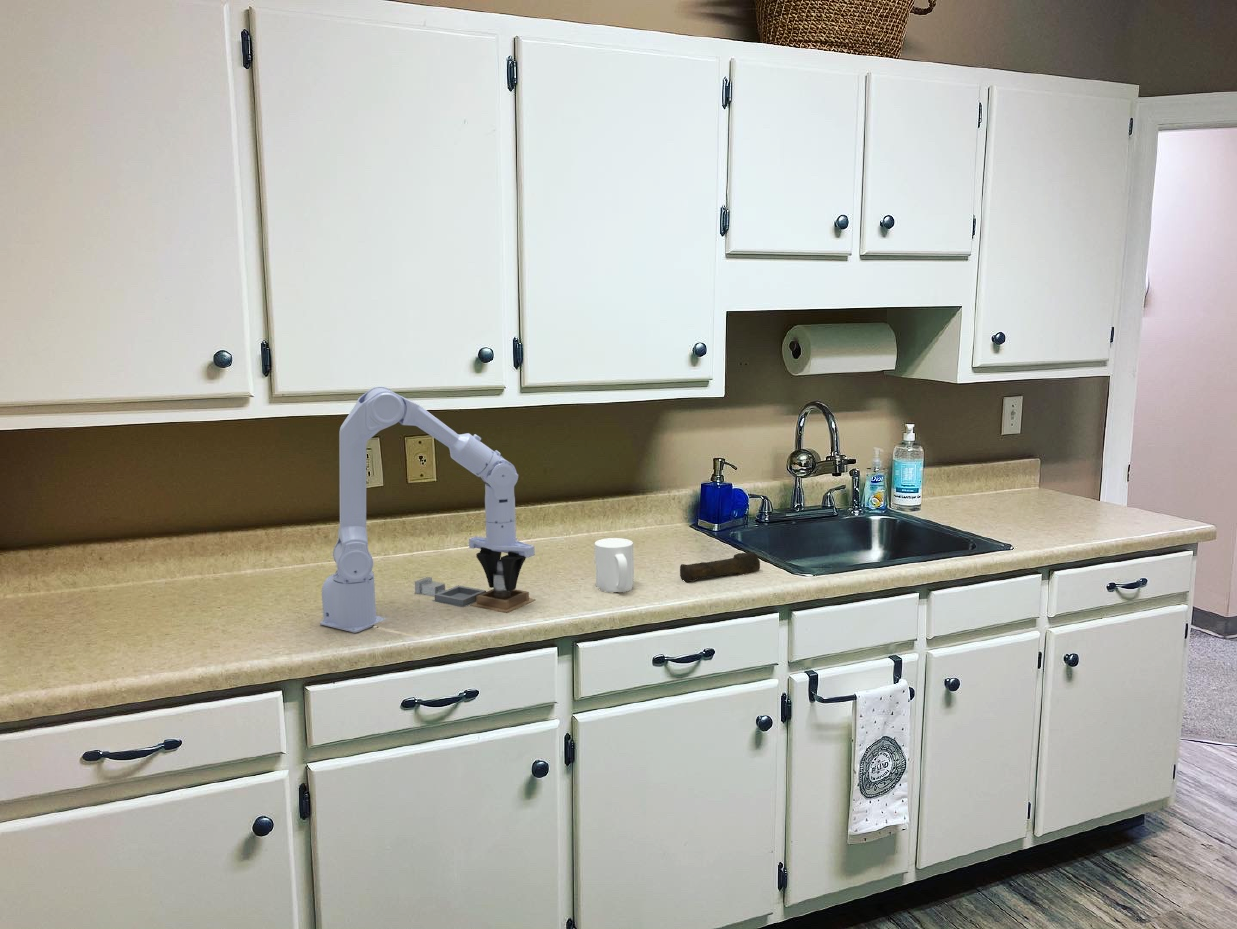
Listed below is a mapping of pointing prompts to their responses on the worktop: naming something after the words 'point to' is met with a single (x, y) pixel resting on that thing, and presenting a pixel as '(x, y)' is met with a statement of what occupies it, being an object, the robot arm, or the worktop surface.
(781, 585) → the worktop surface
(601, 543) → the mug
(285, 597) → the worktop surface
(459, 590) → the grey square tray
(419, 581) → the grey stepped block
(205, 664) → the worktop surface
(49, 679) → the worktop surface
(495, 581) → the stepped metal cylinder
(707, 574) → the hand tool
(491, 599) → the brown square tray
